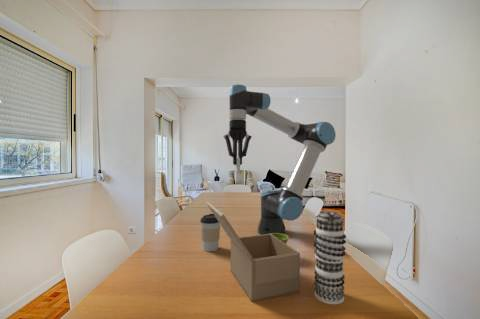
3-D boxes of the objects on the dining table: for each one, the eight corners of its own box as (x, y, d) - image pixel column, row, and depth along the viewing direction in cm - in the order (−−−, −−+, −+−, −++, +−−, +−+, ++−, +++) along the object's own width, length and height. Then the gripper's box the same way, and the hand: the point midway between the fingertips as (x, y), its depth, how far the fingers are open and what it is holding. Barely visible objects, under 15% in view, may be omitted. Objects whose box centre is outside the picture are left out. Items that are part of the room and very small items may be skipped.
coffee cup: (217, 253, 108) (217, 218, 108) (197, 251, 110) (197, 217, 109) (222, 245, 117) (222, 213, 117) (204, 244, 119) (204, 212, 118)
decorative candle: (328, 308, 69) (329, 218, 69) (306, 291, 78) (307, 211, 77) (352, 300, 73) (353, 215, 73) (329, 285, 82) (330, 208, 81)
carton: (269, 264, 97) (270, 233, 97) (300, 292, 77) (300, 253, 77) (230, 270, 92) (230, 237, 92) (252, 302, 72) (252, 260, 72)
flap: (208, 201, 88) (205, 203, 88) (223, 214, 69) (220, 216, 69) (231, 236, 91) (229, 238, 91) (252, 257, 73) (250, 259, 72)
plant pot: (261, 254, 107) (261, 234, 107) (280, 251, 110) (280, 231, 110) (273, 263, 98) (273, 241, 98) (293, 259, 102) (293, 238, 102)
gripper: (248, 121, 120) (247, 171, 120) (221, 120, 116) (221, 171, 116) (254, 119, 113) (253, 172, 113) (226, 118, 109) (226, 172, 109)
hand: (237, 171), depth 115 cm, fingers closed
